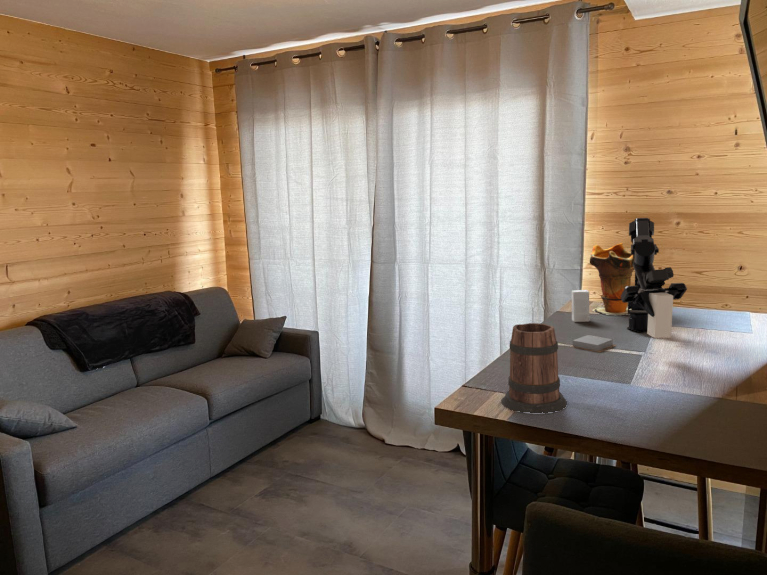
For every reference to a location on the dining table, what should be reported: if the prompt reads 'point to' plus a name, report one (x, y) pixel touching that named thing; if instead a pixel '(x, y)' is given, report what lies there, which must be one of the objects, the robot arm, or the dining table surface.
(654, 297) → the tall block
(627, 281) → the decorative vase
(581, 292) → the skincare box
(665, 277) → the robot arm
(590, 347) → the tower top
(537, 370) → the tankard
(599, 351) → the tower base
